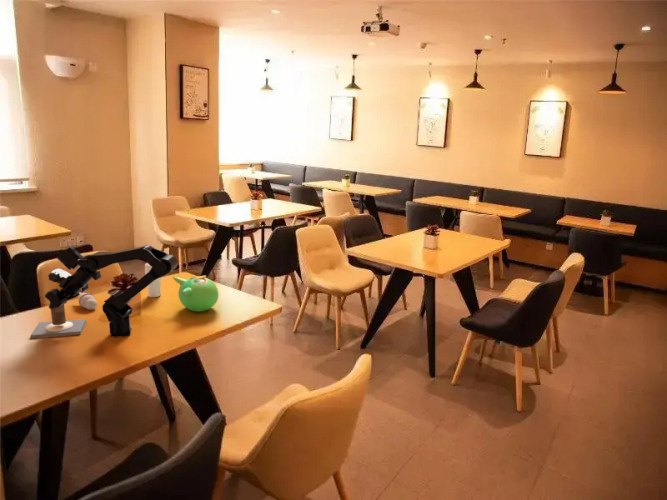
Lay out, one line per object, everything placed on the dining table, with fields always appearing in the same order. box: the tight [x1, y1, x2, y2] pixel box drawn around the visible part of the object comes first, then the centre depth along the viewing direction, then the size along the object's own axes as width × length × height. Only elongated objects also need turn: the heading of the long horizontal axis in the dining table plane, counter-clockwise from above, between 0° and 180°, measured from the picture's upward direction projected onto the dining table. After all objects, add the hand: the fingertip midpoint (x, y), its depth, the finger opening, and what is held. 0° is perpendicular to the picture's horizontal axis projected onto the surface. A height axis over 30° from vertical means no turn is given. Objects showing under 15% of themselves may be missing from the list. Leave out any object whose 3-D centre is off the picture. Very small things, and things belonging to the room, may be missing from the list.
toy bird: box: [172, 275, 219, 312], centre depth 206 cm, size 18×17×15 cm
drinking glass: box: [144, 262, 162, 298], centre depth 220 cm, size 7×7×15 cm
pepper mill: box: [49, 301, 66, 325], centre depth 181 cm, size 4×4×10 cm
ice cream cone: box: [77, 291, 98, 311], centre depth 206 cm, size 6×6×15 cm
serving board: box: [30, 318, 87, 339], centre depth 183 cm, size 16×12×2 cm
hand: (53, 305), depth 181 cm, fingers closed on pepper mill, 4 cm apart
